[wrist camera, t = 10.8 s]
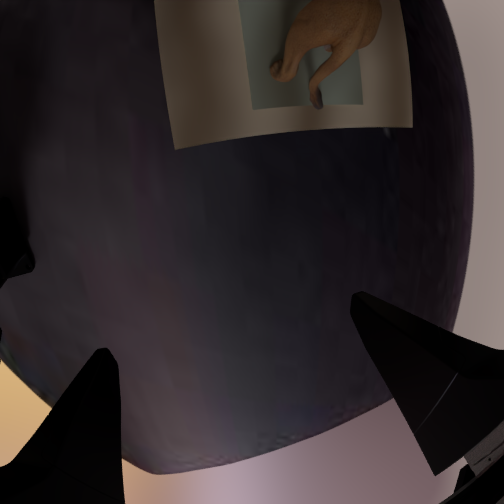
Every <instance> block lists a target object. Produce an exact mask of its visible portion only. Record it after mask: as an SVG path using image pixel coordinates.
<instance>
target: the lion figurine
mask: <svg viewBox="0 0 504 504" xmlns="http://www.w3.org/2000/svg"><path fill="white" fill-rule="evenodd" d="M381 18H382V7H381V3H380V0H312V1H311V2H309V3H308V4H307V5H306V6H305V7H304V8H303V9H302V10H301V11H300V12H299V13H298V15H297V16H296V18H295V20H294V22H293V23H292V25H291V27H290V30H289V32H288V35H287V39H286V43H285V52H284V59H279V60H278V61H275V62H274V63H273V64H272V65H271V66H270V74H271V76H272V78H273V79H275V80H276V81H280V82H289V81H291V80H292V79H293V78H294V77H295V76H296V74H297V72H298V69H299V63H300V61H301V59H302V58H303V56H304V55H305V53H306V52H307V51H308V50H310V49H312V48H317V47H320V46H323V47H324V49H325V51H327V52H332V54H331V56H330V57H329V58H328V59H327V60H326V61H325V62H324V63H322V64H321V65H320V66H319V68H318V69H317V70H316V71H315V73H314V74H313V76H312V77H311V79H310V81H309V90H310V98H309V100H310V102H311V103H312V105H313V107H314V108H315V109H317V110H320V109H322V108H323V101H322V93H321V91H320V90H319V87H318V85H319V83H320V82H321V81H322V80H323V79H325V78H326V77H327V76H329V75H330V74H331V73H332V72H334V71H335V70H337V69H338V68H339V67H340V66H341V65H342V64H343V63H344V62H345V61H346V60H347V59H348V58H350V56H351V55H352V54H353V53H354V52H355V50H358V49H361V48H364V47H366V46H368V45H369V44H370V43H371V42H372V41H373V40H374V38H375V36H376V33H377V31H378V27H379V24H380V21H381Z"/></svg>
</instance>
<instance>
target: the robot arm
mask: <svg viewBox="0 0 504 504" xmlns="http://www.w3.org/2000/svg"><path fill="white" fill-rule="evenodd" d="M4 202H5V204H6V206H5V205H4ZM28 265H30V267H29V266H28ZM34 268H35V264H34V262H33V260H32V257H31V255H30V253H29V250H28V248H27V246H26V243H25V241H24V238H23V236H22V233H21V231H20V228H19V226H18V223H17V220H16V217H15V214H14V212H13V209H12V206H11V203H10V200H9V198H8V197H2V198H0V288H1V287H2V286H3V284H4V283H5V282H6V280H7V279H8V278H12V277H15V276H19V275H23V274H26V273H30V272H32V271H33V269H34ZM350 314H351V317H352V320H353V322H354V324H355V326H356V328H357V331H358V333H359V335H360V337H361V340H362V342H363V344H364V346H365V348H366V350H367V352H368V354H369V355H370V357H371V359H372V360H373V362H374V364H375V366H376V367H377V369H378V371H379V373H380V374H381V376H382V378H383V380H384V381H385V383H386V385H387V387H388V388H389V390H390V392H391V394H392V396H393V397H394V399H395V401H396V403H397V405H398V406H399V408H400V410H401V412H402V414H403V416H404V417H405V419H406V421H407V423H408V425H409V427H410V429H411V430H412V432H413V434H414V436H415V438H416V440H417V442H418V444H419V446H420V448H421V450H422V452H423V454H424V456H425V458H426V460H427V462H428V464H429V466H430V468H431V470H432V472H433V474H434V475H435V476H436V475H438V474H440V473H441V472H442V471H444V470H445V469H447V468H448V467H450V466H451V465H452V464H454V463H455V462H456V461H458V460H459V459H461V458H462V457H463V456H464V458H465V459H466V461H467V463H468V464H467V465H465V466H464V467H463V468H462V469H460V472H459V476H458V480H457V483H456V487H455V490H454V493H453V494H452V495H451V496H449V497H448V498H447V499H445V500H444V501H442V502H441V503H439V504H504V350H498V349H494V348H490V347H488V346H485V345H482V344H480V343H477V342H474V341H471V340H469V339H466V338H463V337H461V336H458V335H456V334H454V333H452V332H449V331H447V330H445V329H443V328H441V327H438V326H436V325H434V324H432V323H430V322H428V321H426V320H424V319H422V318H419V317H417V316H415V315H413V314H411V313H409V312H407V311H404V310H402V309H400V308H398V307H396V306H394V305H392V304H389V303H387V302H385V301H383V300H381V299H379V298H377V297H374V296H372V295H370V294H368V293H366V292H363V291H361V292H358V293H354V294H353V295H352V299H351V307H350ZM1 335H2V330H1V328H0V341H1ZM0 362H1V359H0ZM0 504H125V498H124V487H123V475H122V455H121V396H120V384H119V368H118V364H117V361H116V360H115V358H114V357H113V355H112V354H111V352H110V350H109V349H108V348H100V349H97V350H96V351H95V352H94V353H93V355H92V356H91V357H90V359H89V360H88V361H87V362H86V364H85V365H84V366H83V368H82V369H81V370H80V372H79V373H78V374H77V376H76V377H75V378H74V380H73V381H72V382H71V384H70V385H69V386H68V388H67V389H66V390H65V392H64V393H63V394H62V396H61V397H60V398H59V400H58V401H57V403H56V404H55V405H54V407H53V408H52V410H51V411H50V413H49V415H47V417H46V418H45V420H44V421H43V423H42V424H41V425H40V427H39V428H38V429H37V431H36V432H35V433H34V434H33V436H32V437H31V438H30V440H29V441H28V442H27V443H26V444H25V446H24V447H23V448H22V449H21V451H20V452H19V453H18V454H17V456H16V457H15V458H14V459H13V460H12V461H11V462H10V463H8V464H7V465H5V466H2V467H0Z"/></svg>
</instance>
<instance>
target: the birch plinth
mask: <svg viewBox="0 0 504 504" xmlns="http://www.w3.org/2000/svg"><path fill="white" fill-rule="evenodd" d="M311 1H312V0H154V4H155V15H156V25H157V34H158V42H159V50H160V58H161V66H162V73H163V80H164V87H165V93H166V100H167V106H168V112H169V118H170V124H171V130H172V135H173V141H174V146H175V150H176V149H181V148H186V147H191V146H196V145H201V144H206V143H212V142H217V141H223V140H229V139H236V138H242V137H249V136H257V135H264V134H273V133H282V132H291V131H302V130H315V129H330V128H352V127H412V94H411V79H410V67H409V57H408V49H407V42H406V35H405V28H404V22H403V17H402V12H401V7H400V2H399V0H380V3H381V7H382V18H381V21H380V24H379V27H378V31H377V33H376V36H375V38H374V40H373V41H372V42H371V43H370V44H369V45H368V46H366V47H364V48H361V49H358V50H355V52H354V53H353V54H352V55H351V56H350V58H348V59H347V60H346V61H345V62H344V63H343V64H342V65H341V66H340V67H339V68H338V69H337V70H335V71H334V72H332V73H331V74H330V75H329V76H327V77H326V78H325V79H323V80H322V81H321V82H320V83H319V85H318V87H319V90H320V91H321V93H322V101H323V108H322V109H320V110H317V109H315V108H314V107H313V105H312V103H311V102H310V100H309V98H310V90H309V81H310V79H311V77H312V76H313V74H314V73H315V71H316V70H317V69H318V68H319V66H320V65H321V64H322V63H324V62H325V61H326V60H327V59H328V58H329V57H330V56H331V54H332V52H327V51H325V49H324V47H323V46H320V47H317V48H312V49H310V50H308V51H307V52H306V53H305V55H304V56H303V58H302V59H301V61H300V63H299V69H298V72H297V74H296V76H295V77H294V78H293V79H292V80H291V81H289V82H280V81H276V80H275V79H273V78H272V76H271V74H270V66H271V65H272V64H273V63H274V62H275V61H278V60H279V59H284V52H285V43H286V39H287V35H288V32H289V30H290V27H291V25H292V23H293V22H294V20H295V18H296V16H297V15H298V13H299V12H300V11H301V10H302V9H303V8H304V7H305V6H306V5H307V4H308V3H309V2H311Z"/></svg>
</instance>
